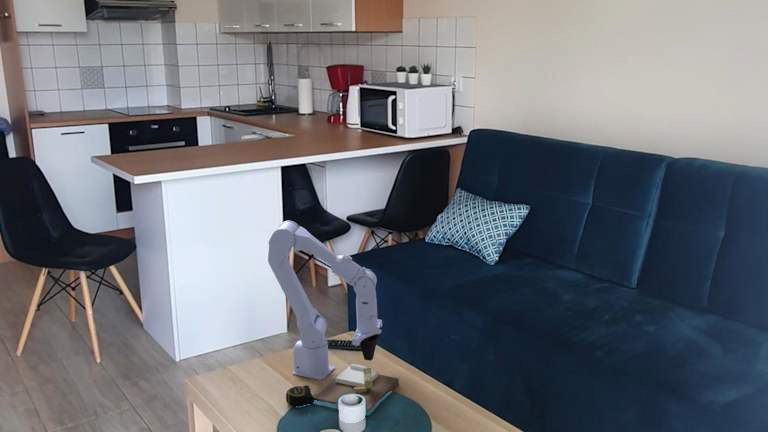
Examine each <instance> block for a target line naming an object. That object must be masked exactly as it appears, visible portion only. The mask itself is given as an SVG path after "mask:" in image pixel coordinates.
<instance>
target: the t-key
mask: <svg viewBox="0 0 768 432" xmlns="http://www.w3.org/2000/svg"><path fill="white" fill-rule="evenodd" d="M371 370H372V368H370V367H368V369H363V372H364V385H365V387H354V388H355V393H356V392H371V388H373V384H372V373H371Z"/></svg>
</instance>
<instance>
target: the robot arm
mask: <svg viewBox="0 0 768 432" xmlns="http://www.w3.org/2000/svg"><path fill="white" fill-rule="evenodd" d="M293 247H294V248H293ZM292 248H293V251H295V252H298V251H307V252H309V253H310V254H311V255H313V256H315V257H317V258H318V259H319V260H321V261H323V262H324V263H326V264H327V265H330V268H331V272H332V273H333V274H335V276H337V277H338V278H340V279H342V280H343V281H344V282H346V283H347V284H348V285H350V286H352V287H353V290H354V293H355V294H356V295H355V296H356V298H355V306H356V308H355V310H356V330H355V332H354V335H353V337H352V338H351V345H352V346H357V347H358V346H359V347H360V349H361V353H362V356H363V359H364V360H365V361H370V362H371V361H372V360H373V359H374V356H375V350H376V347H377V344H378V341H379V339H380V337H381V333H382V329H380V328H382V327H383V320H382V319H378V299H377V292H376V285H377V282H378V281H377V280H378V279H377V275H376V273H374V271H373V270H372V269H370V268H366V267H365V266H363V267H362V266H360V265H359V264H358V263H356V261H354V260H353V257H352V256H350V255H348V256H347V255H346V254H336V253H335V252H334V251H332V249H330V248H329V247H328V246H326V245H325V244H324V243H323V242H321V241H320V240H319V239H317V238H316V237H315V236H314V235H312V234H311V232H309V231H308V230H307V229H305V227H302V226H301V225H299V224H298V223H296V222H295V221H292V220H285V221H283V222H281V223H280V225H278V228H277V229H276V230H274V232H273V233H272V234H271V237H270V238H269V240H268V256H267V262H268V264H269V267H270V269H271V270H272V272H273V274H274V276H275V278H276V280H277V282H278V284H279V286H280V288H281V290H282V292H283V293H284V296H285V298H286V300H287V301H288V303H289V306H290V307H291V309H292V311H293V313H294V315H295V318H296V321H297V322H296V325H297V329H298V332H299V340H298V341H296V343H295V344H294V345H293V352H292V353H293V367H294V368H293V371H292V374H293V375H296V376H301V377H306V378H310V379H316V380H323V379H325V377H327V376H328V375H329V374H330V373H331V372H333V371H334V370H335V369H336V367H335V366H332V365H330V363H329V361H330V360H329V345H328V339H327V337H326V335H325V333H326V331H327V329H328V322H327V320H326V318H324V317H323V316H322V315H321V314H320V312H319V310H317V309H316V308H314V307H313V305H312V304H311V301H310V299H309V298H308V296H307V292H306V291H305V290H304V288H303V286H302V284H301V282H300V280H299V278H298V276H297V274H296V272H295V270H294V268H293V266H292V264H291V262H290V260H289V256H290V254H291V251H292Z"/></svg>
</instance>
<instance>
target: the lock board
mask: <svg viewBox="0 0 768 432" xmlns="http://www.w3.org/2000/svg"><path fill="white" fill-rule="evenodd" d="M372 384H373V388H371V392H356V394H360V395H363V396H364V397H365V399H366V405H367V412H368V411H369V410H370V409H371V408H372V407H374V406H375V404H376V403H377V402H378V401H379V400H380V399H382V397H384V396H385V394H387V393H388V392H390V391H392V393H393V392H394V390H396V389H397V388H398V387H399V386H400V379H399V378H398V377H395V376H394V377H393V376H387V375H382V374H379V376H378V377H377V378H376V379H375V380H373V381H372ZM354 387H356V386H352V385H347V384H342V383H337V382H336V380H335V378H333V380H331V382H329V383H328V384H327V385H325V386H324V387H323V388H321V390H320V391H318V393H316V394H315V395H314V396H313V399H314V400H317V401H321V402H328V403H331V404H337V402H338V398H339V397H340V396H341V395H344V394H348V393H355V388H354Z"/></svg>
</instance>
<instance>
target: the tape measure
mask: <svg viewBox="0 0 768 432" xmlns="http://www.w3.org/2000/svg"><path fill="white" fill-rule="evenodd" d="M313 397H314V396H313V394H312V388H311V387H310V386H309V385H307V384H306V385H303V386H302V385H297V386H293V387H290V388H289V389H288V390H287V391H286V393H285V401H286V403H287V404H288V406H289V407H292V408H295V407H296V406H298V407H299V406H303V405H307V404H312V403H313V402H314V399H313ZM312 405H313V404H312Z"/></svg>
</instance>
